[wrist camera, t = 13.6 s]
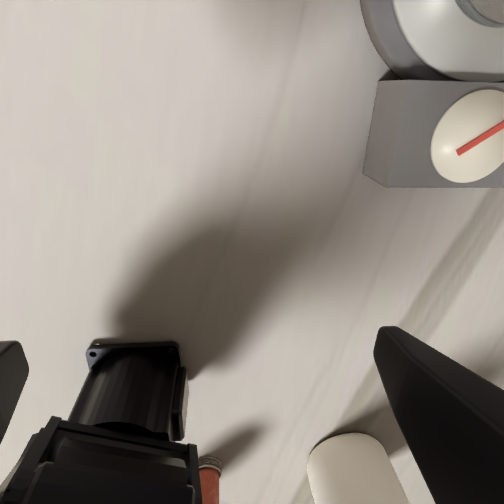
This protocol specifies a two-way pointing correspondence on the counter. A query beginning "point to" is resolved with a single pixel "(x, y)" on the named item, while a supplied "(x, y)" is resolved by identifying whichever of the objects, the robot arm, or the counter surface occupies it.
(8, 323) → the counter surface
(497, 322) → the counter surface
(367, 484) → the milk bottle
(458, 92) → the kitchen scale
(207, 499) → the lighter
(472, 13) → the disc
